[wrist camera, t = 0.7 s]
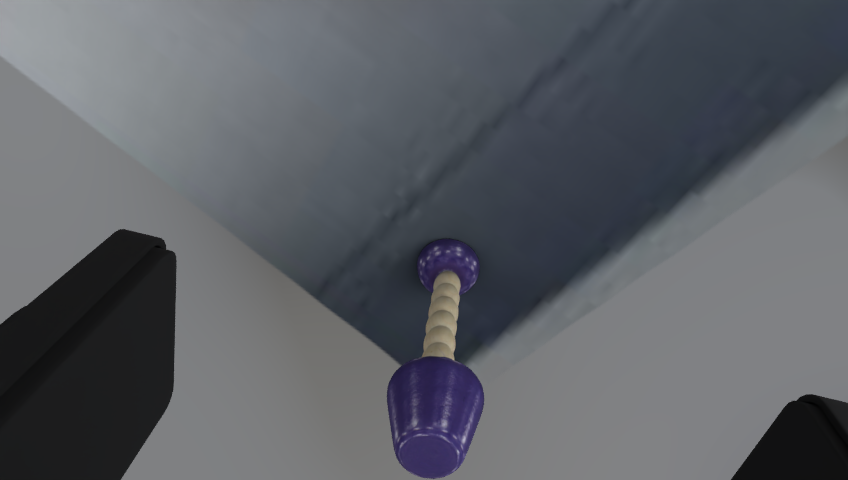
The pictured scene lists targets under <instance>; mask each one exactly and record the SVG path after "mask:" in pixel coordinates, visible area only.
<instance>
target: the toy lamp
mask: <svg viewBox="0 0 848 480" xmlns="http://www.w3.org/2000/svg"><path fill="white" fill-rule="evenodd" d="M479 270H480V264H479V260H478V258H477V255H476V254H475V252H474V251H473V249H471V248H470V247H469V246H468V245H466V244H465V243H463V242H461V241H457V240H453V239H441V240H437V241H434V242H432V243H430V244H428V245H427V246H426V247H425V248H424V249H423V250H422V251H421V253H420V255H419V257H418V262H417V271H418V275H419V278H420V280H421V282H422V284H423V285H424V286H425V287H426V289H427V290H429V291H430V292H431V293H433V294H432V297H431V306H430V308H429V319H428V321H427V325H426V334H427V335H426V337H425V340H424V353H423V355H422V357H421V358H418V359H413V360H410V361H409V362H407V363H405V364H404V365H402V366H401V367H400V368H399V369H398V370H397V371H396V372H395V373H394V374H393V376H392V378H391V380H390V382H389V385H388V390H387V403H388V411H389V418H390V425H391V432H392V439H393V445H394V450H395V454H396V457H397V459H398V461H399V463H400V464H401V465H402V466H403V467H404V468H405V469H406V470H407V471H409V472H410V473H412V474H414V475H416V476H419V477H423V478H433V479H435V478H441V477H445V476H447V475H449V474H451V473H453V472H454V471H456V470H457V469H458V468H459V466H460V465H461V464H462V462H463V460H464V459H465V456H466V453H467V451H468V449H469V446H470V444H471V441H472V438H473V436H474V433H475V430H476V428H477V425H478V422H479V419H480V417H481V414H482V410H483V405H484V393H483V388H482V385H481V383H480V381H479V380H478V378H477V376H476V375H475V374H474V373H473V372H472V370H470V369H469V368H468V367H466V366H465V365H463V364H462V363H460V362H457V361H454V355H453V352H454V350H455V337H454V336H455V334H456V330H457V324H456V320H457V318H458V304H459V295H462V294H463V293H465V292H467V291H468V290H469V289H470V288H471V287H472V286H473V285H474V283H475V282H476V280H477V278H478V275H479Z"/></svg>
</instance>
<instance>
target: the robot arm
mask: <svg viewBox="0 0 848 480" xmlns="http://www.w3.org/2000/svg"><path fill="white" fill-rule="evenodd" d="M175 300H176V255H175V253H174V252H173V251H169V250H166V244H165V242H164V240H162V239H161V238H158V237H154V236H150V235H146V234H142V233H137V232H133V231H129V230H125V229H122V230H121V229H120V230H118V231H116V232H115V233H113V234H112V235H111V236H110V237H109V238H107V239H106V240H105V241H104V242H103V243H101V244H100V245H99V246H98V247H97V248H96V249H94V250H93V251H92V252H91V253H89V254H88V255H87V256H86V257H85V258H84V259H82V260H81V261H80V262H79V263H77V264H76V265H75V266H74V267H73V268H72V269H70V270H69V271H68V272H67V273H66V274H64V275H63V276H62V277H61V278H60V279H58V280H57V281H56V282H55V283H54V284H53V285H51V286H50V287H49V288H48V289H47V290H45V291H44V292H43V293H42V294H40V295H39V296H38V297H37V298H36V299H35V300H33V301H32V302H31V303H30V304H28V305H27V306H25V307H23V308H21V309H20V310H19V311H17V312H15V313H14V314H13V315H11V316H10V317H9V318H8V319H7V320H5V321H4V322H3V323H2V324H0V480H121V478H122V477H123V475H124V473H125V472H126V470H127V469H128V468H129V466H130V464H131V463H132V461H133V460H134V458H135V457H136V455H137V454H138V452H139V451H140V449H141V447H142V446H143V444H144V443H145V441H146V439H147V438H148V437H149V435H150V434H151V432H152V430H153V429H154V427H155V426H156V424H157V423H158V421H159V420H160V418H161V417H162V415H163V414H164V412H165V410H166V409H167V407H168V404H169V402H170V399H171V396H172V392H173V384H174V345H175ZM731 480H848V403H846V402H842V401H838V400H834V399H829V398H825V397H821V396H817V395H812V394H811V395H804V396H802V397H800V398H799V399H798V400H797V401H792V402H790V403H788V404H787V405H786V406H785V407H784V408H783V410H782V411H781V413H780V414H779V415H778V417H777V418H776V419H775V421H774V422H773V424H772V425H771V426H770V428H769V429H768V430H767V432H766V433H765V434H764V436H763V437H762V438H761V440H760V441H759V442H758V444H757V445H756V446H755V448H754V449H753V451H752V452H751V453H750V455H749V456H748V457H747V459H746V460H745V461H744V463H743V464H742V466H741V467H740V468H739V470H738V471H737V472H736V474H735V475H734V476H733V478H732V479H731Z"/></svg>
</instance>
